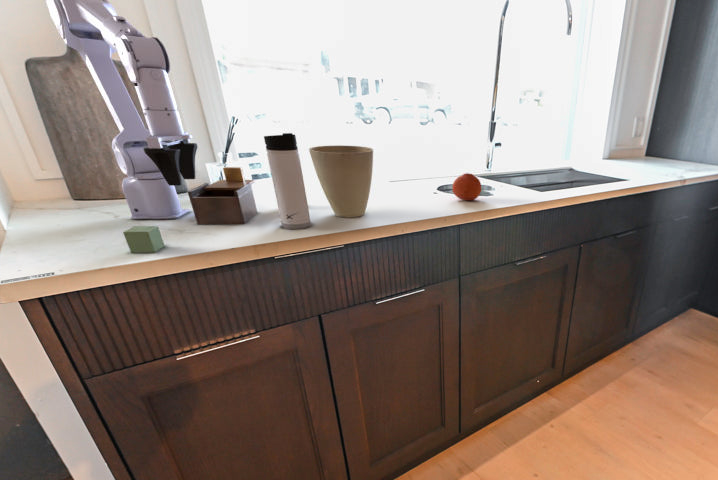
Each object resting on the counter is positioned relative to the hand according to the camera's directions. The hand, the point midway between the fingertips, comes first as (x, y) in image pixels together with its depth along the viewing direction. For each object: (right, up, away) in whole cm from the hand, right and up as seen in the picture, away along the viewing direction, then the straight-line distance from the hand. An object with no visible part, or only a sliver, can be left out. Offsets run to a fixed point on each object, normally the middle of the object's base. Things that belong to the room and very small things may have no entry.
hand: (182, 182), depth 90 cm
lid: (0, +5, +16) cm, 17 cm away
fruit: (+57, +10, +43) cm, 72 cm away
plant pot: (+28, -1, +21) cm, 35 cm away
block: (0, -16, -9) cm, 18 cm away
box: (+1, -4, +13) cm, 14 cm away
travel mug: (+20, -7, +10) cm, 23 cm away
